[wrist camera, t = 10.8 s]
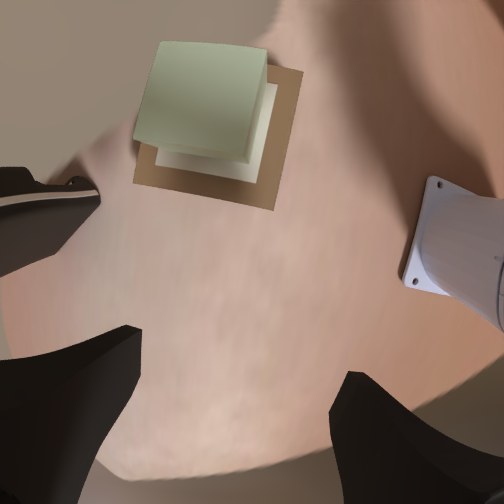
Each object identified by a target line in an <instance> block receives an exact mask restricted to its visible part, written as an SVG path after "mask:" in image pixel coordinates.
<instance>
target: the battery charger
mask: <svg viewBox="0 0 504 504" xmlns="http://www.w3.org/2000/svg"><path fill="white" fill-rule="evenodd" d="M100 203H101V200H100V198H99V194H98V193H97V191H96V190H94V189H93V187H92V185H91V184H90V183H89V182H88V181H87V180H86V179H85V178H83V177H80V176H75V177H72V178H71V179H70V180H69V181H68V182H67V183H66V184H65V185H45V184H42V183H40V182H38V181H35V180H34V178H33V176H32V175H31V173H30V171H29V170H28V169H27V168H25V167H0V277H2V276H5V275H7V274H9V273H11V272H13V271H16V270H18V269H20V268H22V267H25V266H27V265H29V264H31V263H34V262H36V261H39V260H41V259H44V258H46V257H49V256H52V255H54V254H56V253H57V252H58V251H59V250H60V248H61V247H62V246H63V245H64V244H65V243H66V242H67V240H68V239H69V238H70V237H71V236H72V235H73V234H74V233H75V231H76V230H77V229H78V228H79V227H80V226H81V225H82V224H83V223H84V221H85V220H86V219H87V218H88V217H89V216H90V215H91V214H92V213H93V212H94V211H95V210H96V208H97V207H98V206H99V205H100Z"/></svg>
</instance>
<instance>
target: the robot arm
mask: <svg viewBox="0 0 504 504" xmlns="http://www.w3.org/2000/svg"><path fill="white" fill-rule="evenodd" d="M438 182H439V183H440V187H439V188H438V186H437V183H438ZM414 278H416V281H415V283H412V281H413V279H414ZM402 283H403V284H404V285H405V286H407V287H411V288H415V289H420V290H424V291H429V292H434V293H438V294H443V295H447V296H452V297H454V298H455V299H457V300H458V301H460V302H461V303H463V304H464V305H465V306H467V307H468V308H470V309H471V310H473V311H474V312H476V313H477V314H478V315H480V316H481V317H483V318H484V319H485V320H487V321H488V322H490V323H491V324H492V325H494V326H495V327H496V328H498V329H499V330H501V331H502V332H503V333H504V199H499V198H491V197H483V196H478V195H476V194H474V193H472V192H470V191H468V190H466V189H464V188H462V187H460V186H458V185H455V184H453V183H451V182H449V181H446V180H444V179H442V178H439V177H437V176H429V177H428V179H427V182H426V188H425V193H424V197H423V202H422V207H421V211H420V215H419V220H418V224H417V228H416V232H415V236H414V239H413V243H412V247H411V250H410V254H409V257H408V261H407V264H406V267H405V271H404V274H403V277H402ZM141 343H142V329H139V328H136V327H132V326H129V325H124V326H121V327H118V328H116V329H113V330H111V331H108V332H106V333H104V334H101V335H99V336H96V337H94V338H91V339H89V340H86V341H84V342H81V343H78V344H75V345H72V346H69V347H66V348H63V349H60V350H57V351H54V352H50V353H46V354H42V355H37V356H32V357H27V358H19V359H10V360H0V504H77V503H78V500H79V497H80V494H81V491H82V488H83V485H84V483H85V481H86V478H87V475H88V473H89V470H90V468H91V466H92V463H93V461H94V459H95V457H96V454H97V452H98V450H99V448H100V446H101V444H102V442H103V441H104V439H105V437H106V436H107V434H108V433H109V431H110V429H111V428H112V426H113V425H114V423H115V422H116V420H117V418H118V417H119V415H120V414H121V412H122V411H123V409H124V407H125V406H126V404H127V403H128V401H129V399H130V398H131V396H132V394H133V391H134V389H135V387H136V385H137V382H138V380H139V378H140V376H141ZM329 425H330V435H331V440H332V444H333V449H334V453H335V457H336V462H337V465H338V470H339V474H340V479H341V483H342V488H343V496H344V504H504V458H503V457H498V456H494V455H491V454H487V453H484V452H481V451H478V450H476V449H473V448H471V447H468V446H466V445H464V444H462V443H459V442H457V441H455V440H453V439H451V438H449V437H448V436H446V435H444V434H442V433H441V432H439V431H437V430H436V429H434V428H433V427H431V426H429V425H428V424H426V423H425V422H424V421H422V420H421V419H420V418H418V417H417V416H416V415H414V414H413V413H412V412H410V411H409V410H408V409H407V408H405V407H404V406H403V405H402V404H401V403H399V402H398V401H397V400H396V399H395V398H394V397H392V396H391V395H390V394H389V393H388V392H387V391H386V390H384V389H383V388H382V387H381V386H380V385H379V384H378V383H376V382H375V381H374V380H373V379H372V378H370V377H369V376H368V375H366V374H365V373H363V372H353V371H348V373H347V375H346V377H345V379H344V382H343V384H342V386H341V388H340V390H339V392H338V395H337V397H336V399H335V401H334V403H333V405H332V407H331V409H330V411H329Z"/></svg>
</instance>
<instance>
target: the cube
mask: <svg viewBox="0 0 504 504" xmlns="http://www.w3.org/2000/svg"><path fill="white" fill-rule="evenodd" d="M266 87H267V50H265V49H259V48H252V47H245V46H237V45H228V44H218V43H205V42H184V41H160V44H159V46H158V49H157V53H156V55H155V58H154V61H153V65H152V68H151V71H150V74H149V77H148V81H147V84H146V88H145V91H144V95H143V99H142V102H141V106H140V110H139V114H138V118H137V122H136V126H135V131H134V135H133V139H134V140H137V141H140V142H143V143H146V144H149V145H152V146H155V147H158V148H161V149H164V150H167V151H172V152H179V153H186V154H193V155H199V156H205V157H211V158H217V159H223V160H228V161H234V162H239V163H244V164H250V160H251V155H252V150H253V146H254V141H255V137H256V132H257V127H258V123H259V118H260V114H261V109H262V105H263V101H264V96H265V92H266Z"/></svg>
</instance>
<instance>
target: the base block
mask: <svg viewBox="0 0 504 504" xmlns="http://www.w3.org/2000/svg"><path fill="white" fill-rule="evenodd" d="M302 77H303V71H298V70H294V69H290V68H285V67H280V66H275V65H270V64H267V87H266V92H265V96H264V101H263V105H262V109H261V114H260V118H259V123H258V127H257V132H256V137H255V141H254V146H253V150H252V155H251V160H250V164H244V163H239V162H234V161H228V160H223V159H217V158H211V157H205V156H199V155H193V154H186V153H179V152H172V151H167V150H164V149H161V148H158V147H155V146H152V145H149V144H146V143H143V142H141V143H140V148H139V153H138V158H137V163H136V168H135V173H134V179H133V183H134V184H140V185H146V186H152V187H157V188H163V189H168V190H174V191H179V192H185V193H190V194H195V195H200V196H206V197H211V198H216V199H221V200H225V201H230V202H235V203H240V204H245V205H249V206H254V207H259V208H263V209H268V210H272V211H274V206H275V202H276V197H277V193H278V188H279V184H280V179H281V175H282V170H283V166H284V161H285V157H286V152H287V147H288V143H289V138H290V134H291V129H292V124H293V120H294V115H295V110H296V106H297V101H298V96H299V91H300V87H301V82H302Z"/></svg>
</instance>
